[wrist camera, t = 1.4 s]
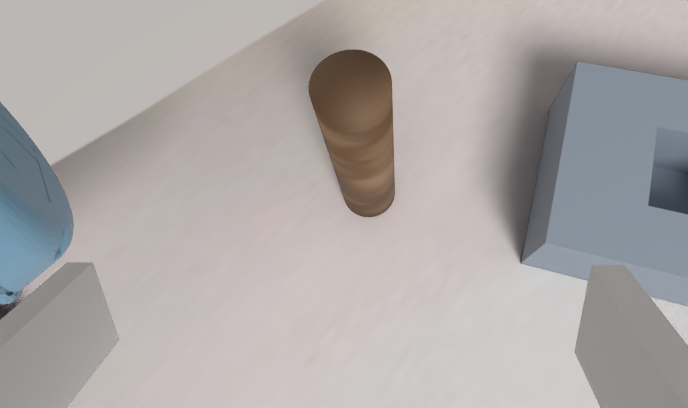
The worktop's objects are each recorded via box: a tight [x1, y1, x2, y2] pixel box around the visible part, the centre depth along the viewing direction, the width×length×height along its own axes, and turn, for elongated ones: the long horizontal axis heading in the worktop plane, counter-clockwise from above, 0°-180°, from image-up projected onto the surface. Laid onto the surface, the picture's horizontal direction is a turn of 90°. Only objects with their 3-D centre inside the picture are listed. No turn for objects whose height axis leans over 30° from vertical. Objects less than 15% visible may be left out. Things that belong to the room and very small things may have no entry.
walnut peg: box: [309, 50, 395, 217], centre depth 29 cm, size 4×4×15 cm
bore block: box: [521, 61, 688, 306], centre depth 31 cm, size 16×13×6 cm
